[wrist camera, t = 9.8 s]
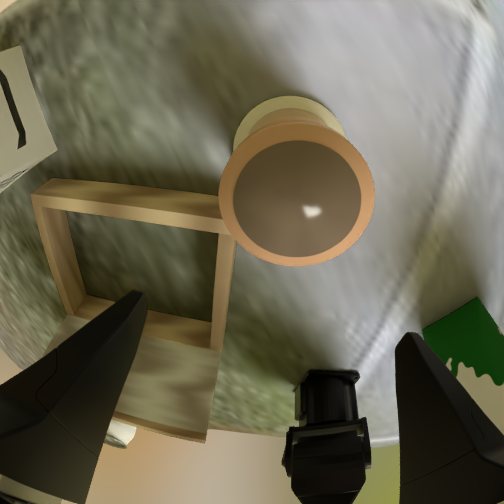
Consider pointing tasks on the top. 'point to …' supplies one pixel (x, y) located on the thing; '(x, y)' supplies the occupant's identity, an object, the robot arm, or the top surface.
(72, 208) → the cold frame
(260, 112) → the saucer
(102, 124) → the top surface
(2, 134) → the grater
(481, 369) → the milk carton
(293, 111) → the pot
